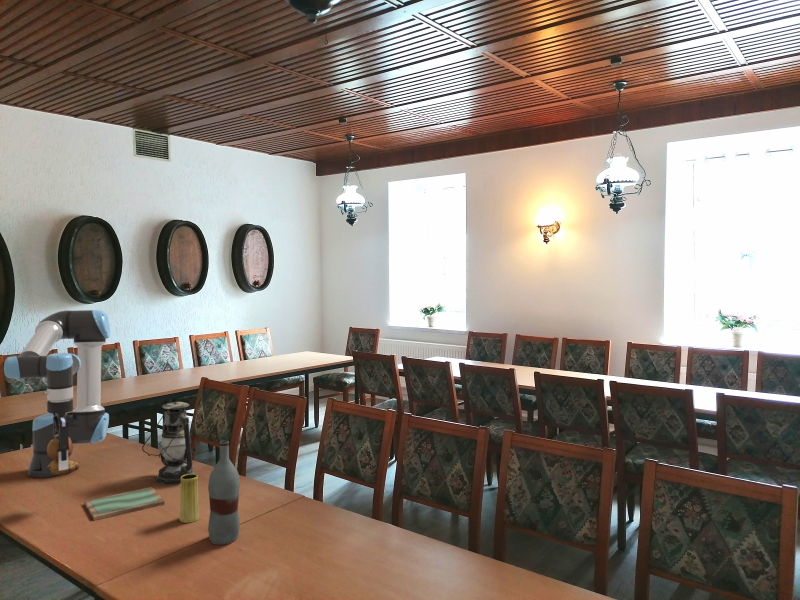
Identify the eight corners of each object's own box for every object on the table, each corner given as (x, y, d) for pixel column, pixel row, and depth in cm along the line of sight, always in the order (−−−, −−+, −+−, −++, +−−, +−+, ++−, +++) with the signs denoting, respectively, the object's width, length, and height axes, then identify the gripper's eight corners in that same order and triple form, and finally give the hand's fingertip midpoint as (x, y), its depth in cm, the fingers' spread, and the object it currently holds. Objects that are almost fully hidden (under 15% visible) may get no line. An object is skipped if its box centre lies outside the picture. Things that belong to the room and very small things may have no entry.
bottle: (210, 548, 168) (210, 448, 167) (205, 535, 176) (205, 439, 175) (242, 541, 173) (243, 444, 171) (236, 529, 181) (236, 436, 179)
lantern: (207, 477, 226) (206, 402, 224) (164, 492, 210) (164, 411, 208) (176, 467, 236) (176, 396, 234) (134, 481, 220) (133, 404, 218)
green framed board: (84, 504, 198) (84, 500, 198) (151, 490, 212) (151, 486, 212) (94, 520, 185) (94, 516, 185) (164, 504, 199) (164, 500, 199)
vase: (203, 517, 189) (203, 475, 188) (189, 524, 184) (189, 481, 183) (189, 513, 192) (189, 472, 191) (175, 520, 186) (175, 477, 185)
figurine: (85, 467, 198) (77, 429, 193) (71, 480, 191) (62, 441, 186) (58, 466, 199) (50, 428, 194) (43, 479, 192) (34, 440, 187)
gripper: (42, 394, 198) (44, 458, 199) (51, 408, 181) (53, 477, 183) (67, 392, 203) (68, 454, 204) (78, 404, 186) (79, 472, 187)
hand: (61, 465), depth 193 cm, fingers closed on figurine, 9 cm apart
